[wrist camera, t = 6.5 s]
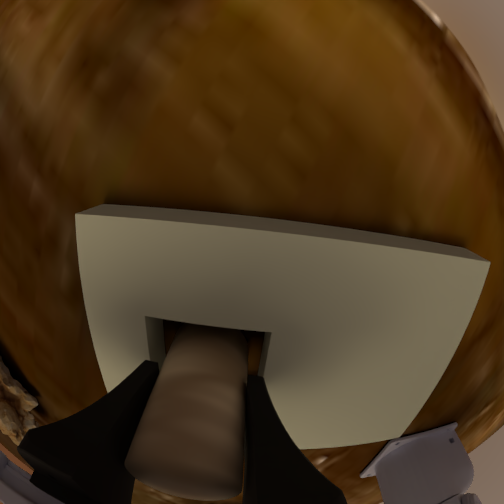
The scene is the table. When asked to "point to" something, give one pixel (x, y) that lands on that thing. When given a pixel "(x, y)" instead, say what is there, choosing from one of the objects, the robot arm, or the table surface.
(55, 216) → the table surface
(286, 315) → the socket board
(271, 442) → the robot arm
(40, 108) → the table surface
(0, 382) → the mineral formation
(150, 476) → the birch peg
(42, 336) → the table surface
